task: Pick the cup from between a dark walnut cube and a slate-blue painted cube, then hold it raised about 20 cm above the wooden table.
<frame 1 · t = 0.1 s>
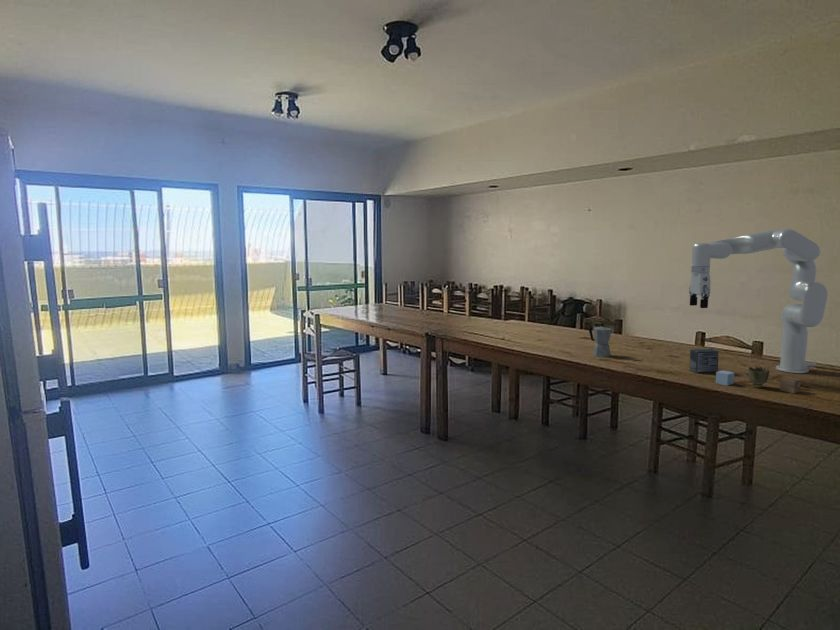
hand: (698, 306, 237), 31 cm above the table, tool pointing down, fingers open, 9 cm apart
slate-blue cube: (724, 383, 221), on the table
cup: (757, 387, 215), on the table
walnut cube: (789, 391, 208), on the table
coffeepot: (599, 355, 281), on the table
small box: (703, 371, 242), on the table
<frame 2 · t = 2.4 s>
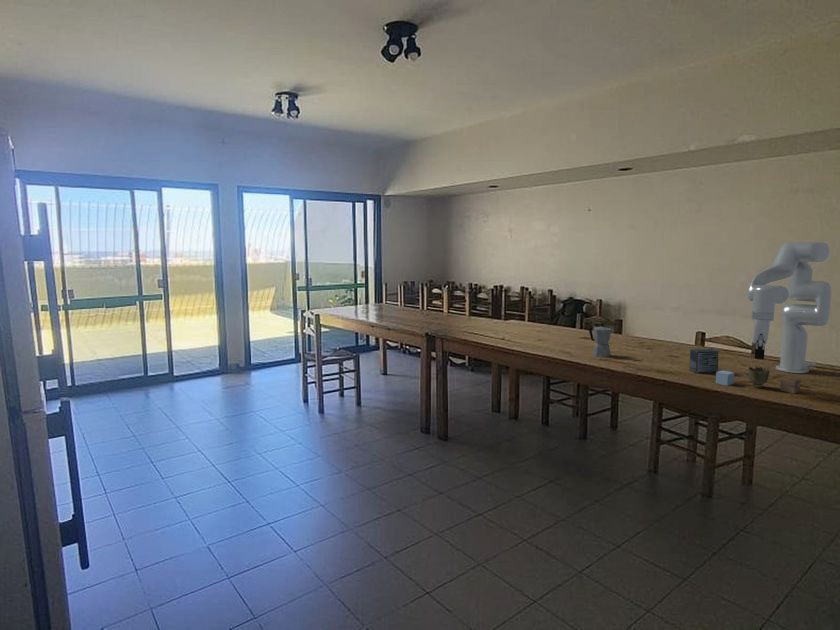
hand: (759, 356, 212), 13 cm above the table, tool pointing down, fingers open, 9 cm apart
nothing on the table moved.
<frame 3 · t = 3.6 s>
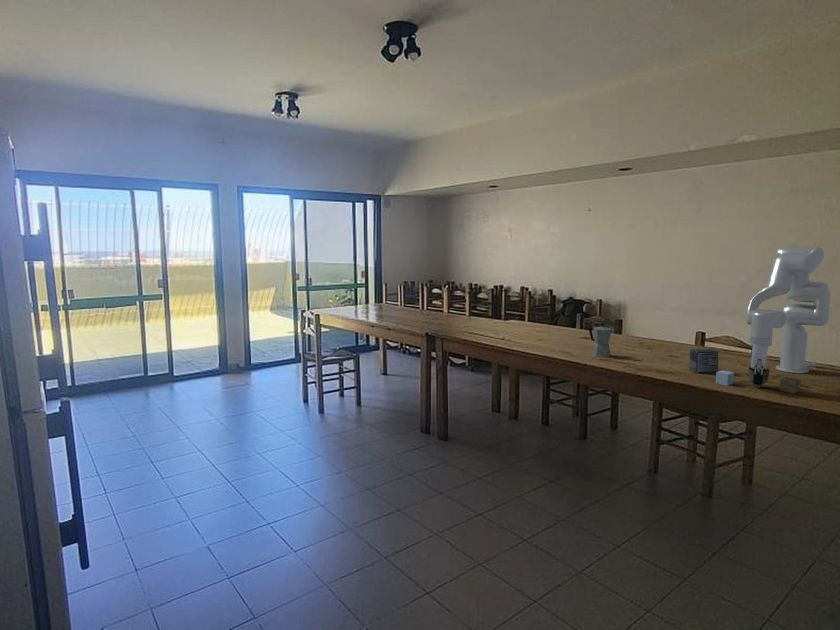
hand: (757, 381, 214), 3 cm above the table, tool pointing down, fingers open, 9 cm apart
nothing on the table moved.
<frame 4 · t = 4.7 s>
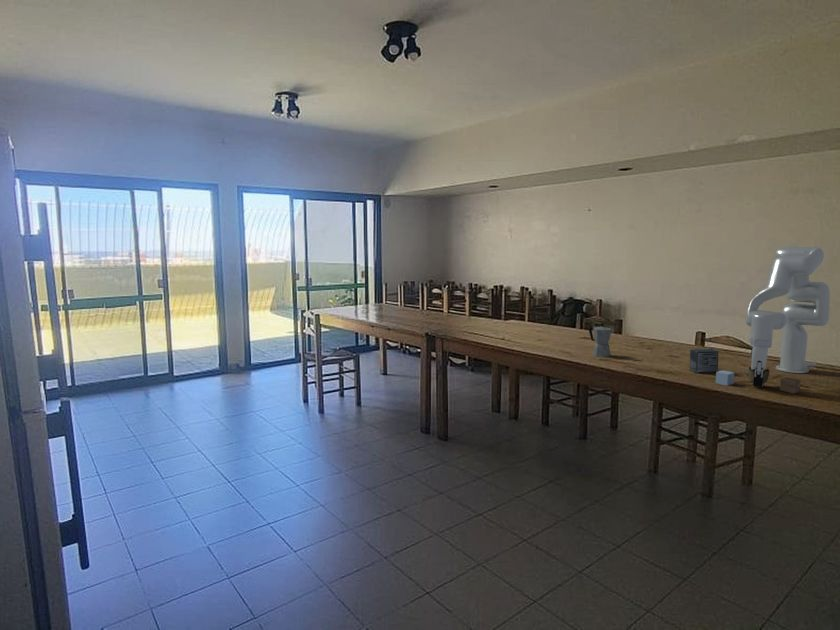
hand: (757, 384, 214), 1 cm above the table, tool pointing down, fingers closed on cup, 6 cm apart
cup: (757, 387, 215), on the table, touching gripper
everything else where it was.
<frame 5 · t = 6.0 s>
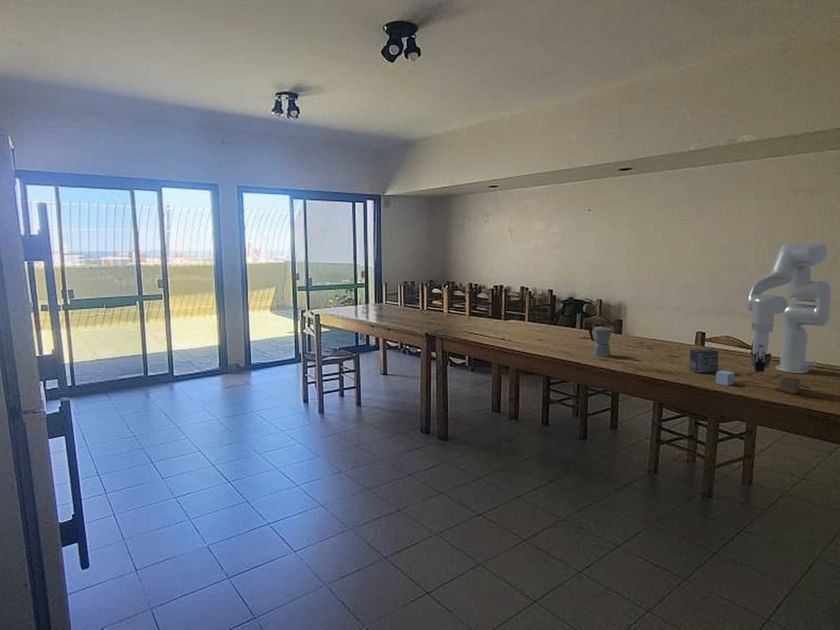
hand: (759, 368, 214), 8 cm above the table, tool pointing down, fingers closed on cup, 6 cm apart
cup: (759, 372, 214), point 6 cm above the table, touching gripper
everything else where it was.
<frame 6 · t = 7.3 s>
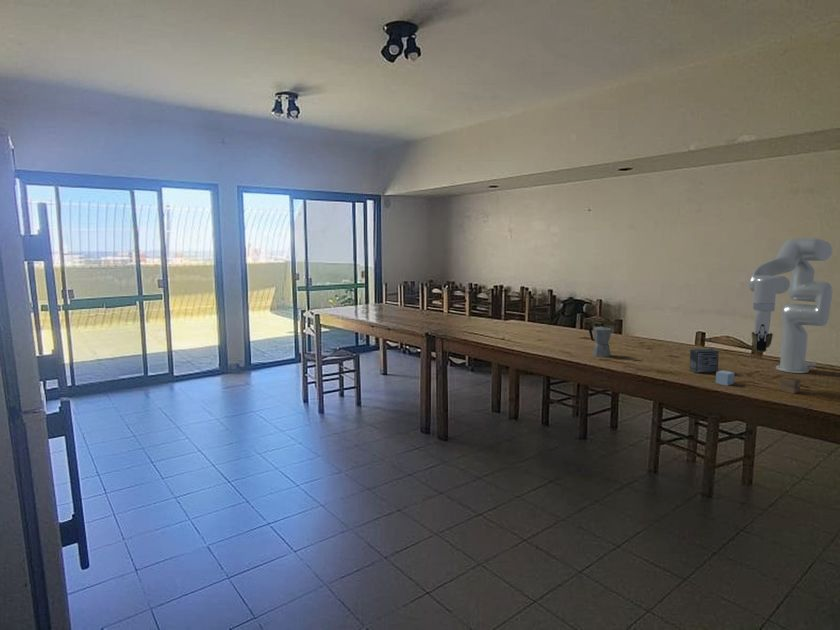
hand: (761, 348, 215), 16 cm above the table, tool pointing down, fingers closed on cup, 6 cm apart
cup: (761, 351, 215), point 15 cm above the table, touching gripper
everything else where it was.
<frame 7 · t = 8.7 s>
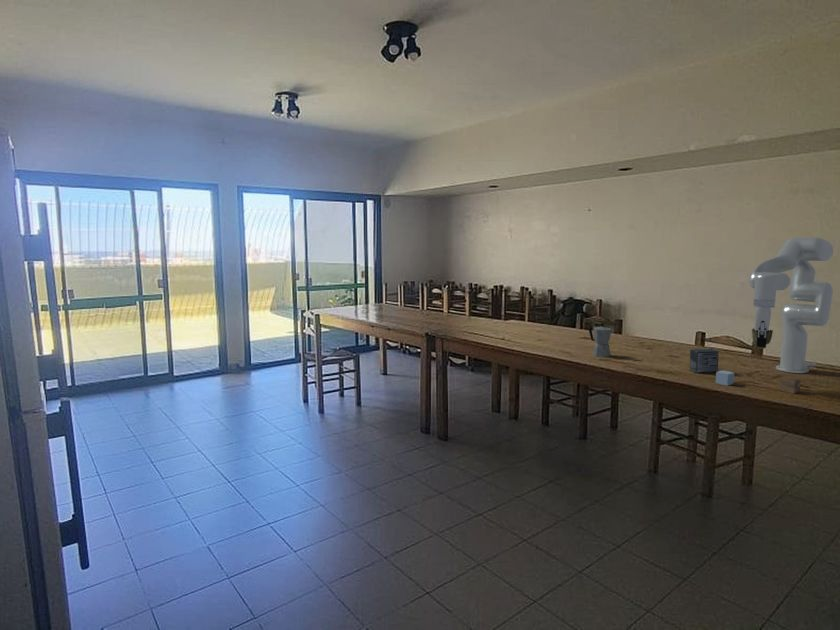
hand: (761, 344, 215), 17 cm above the table, tool pointing down, fingers closed on cup, 6 cm apart
cup: (761, 348, 215), point 16 cm above the table, touching gripper
everything else where it was.
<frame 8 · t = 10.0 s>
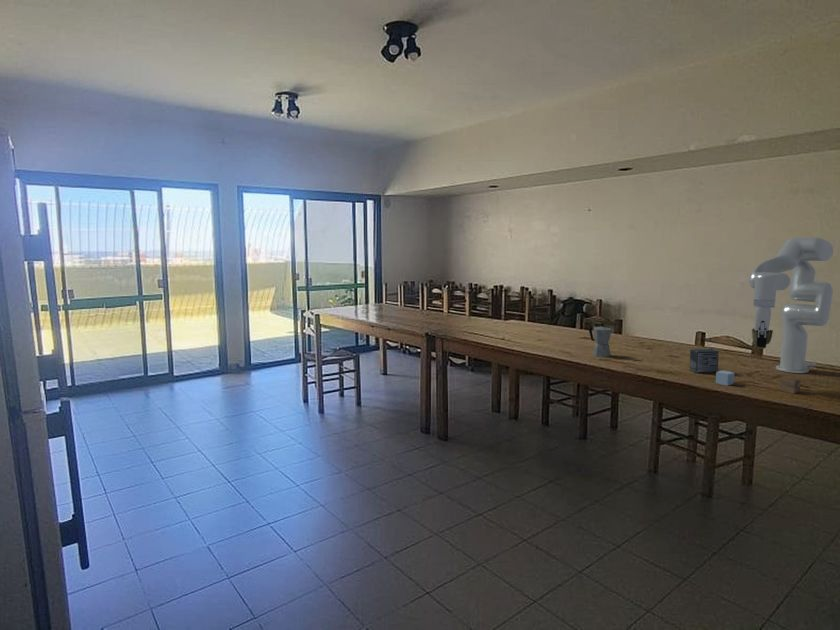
hand: (761, 344, 215), 17 cm above the table, tool pointing down, fingers closed on cup, 6 cm apart
cup: (761, 348, 215), point 16 cm above the table, touching gripper
everything else where it was.
at the end: the gripper is holding cup; cup point 15.9 cm above the table; walnut cube moved 0.1 cm from its start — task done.
